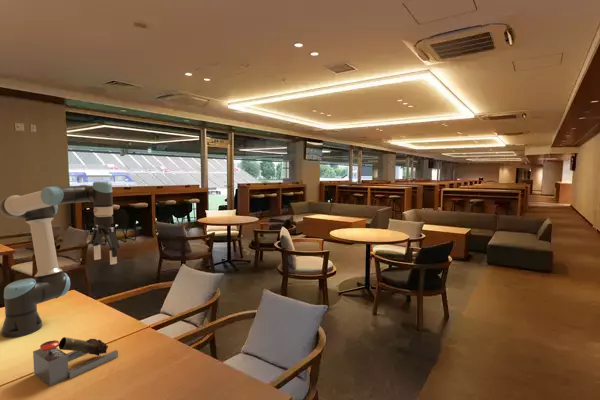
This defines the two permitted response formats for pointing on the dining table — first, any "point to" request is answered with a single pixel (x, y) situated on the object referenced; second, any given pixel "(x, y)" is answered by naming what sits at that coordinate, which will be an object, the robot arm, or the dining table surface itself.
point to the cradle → (62, 363)
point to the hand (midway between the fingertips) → (105, 261)
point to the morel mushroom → (83, 345)
